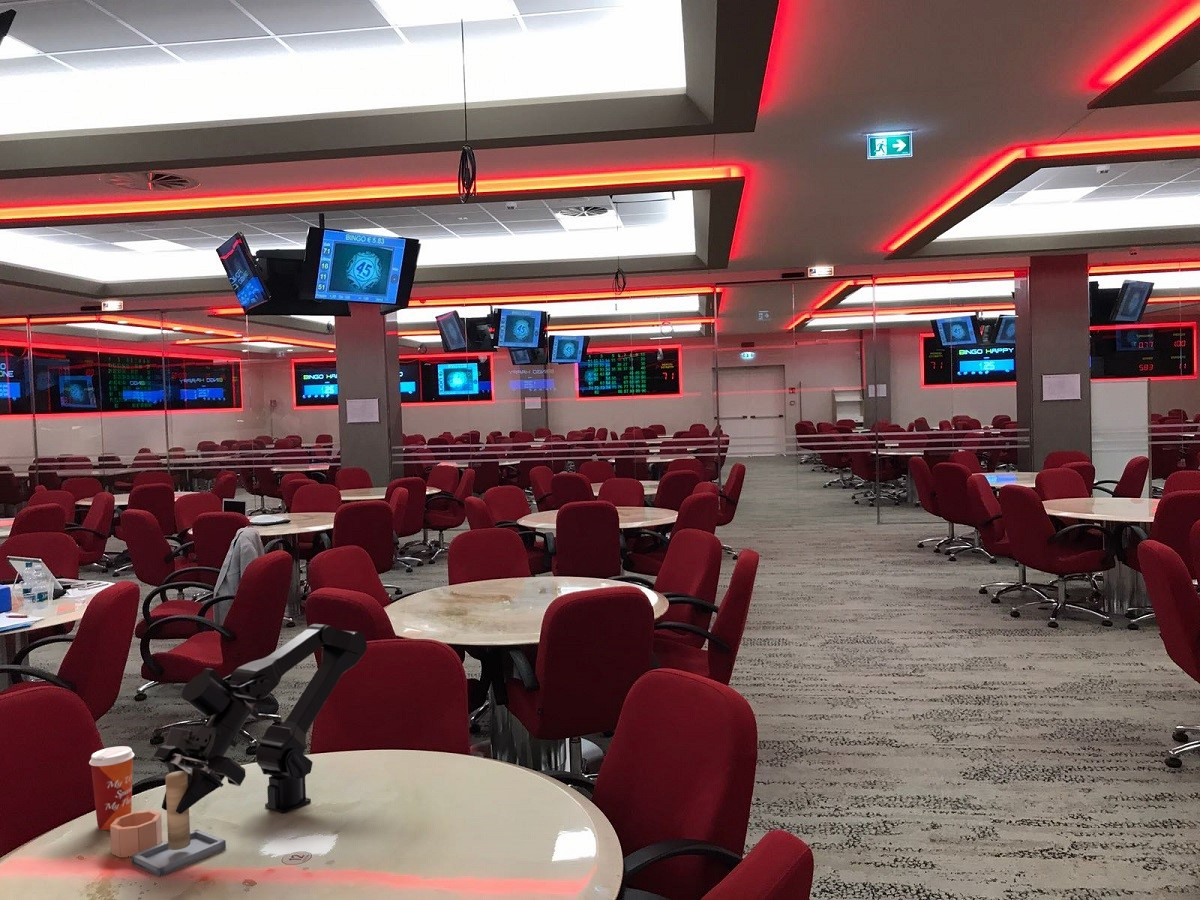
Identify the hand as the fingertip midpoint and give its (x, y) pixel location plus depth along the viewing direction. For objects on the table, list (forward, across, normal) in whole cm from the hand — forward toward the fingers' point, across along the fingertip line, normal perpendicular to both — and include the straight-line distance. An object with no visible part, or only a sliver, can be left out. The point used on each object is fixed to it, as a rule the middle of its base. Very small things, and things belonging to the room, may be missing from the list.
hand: (170, 811), depth 153 cm
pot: (+6, -11, +6) cm, 14 cm away
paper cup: (+3, -24, +10) cm, 26 cm away
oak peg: (+4, 0, +6) cm, 7 cm away
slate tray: (+5, 0, +7) cm, 9 cm away
